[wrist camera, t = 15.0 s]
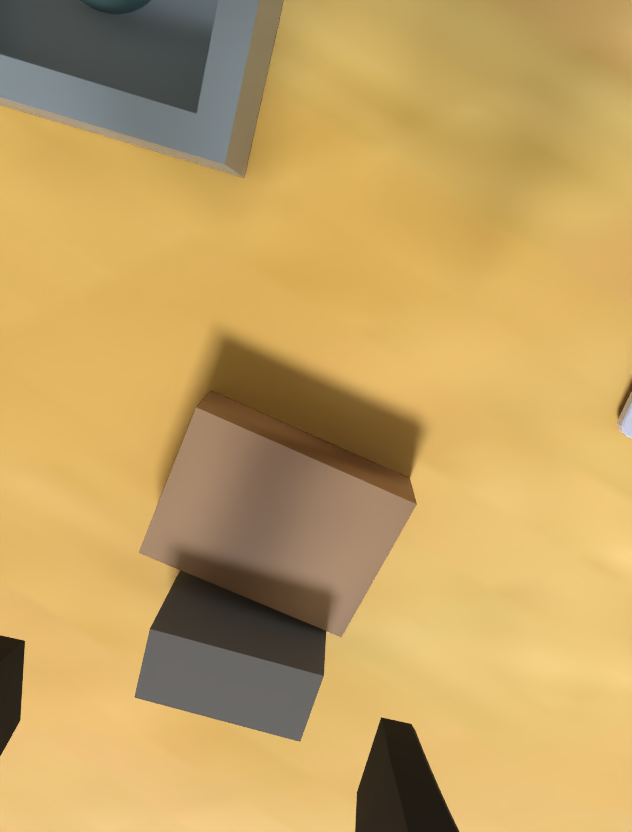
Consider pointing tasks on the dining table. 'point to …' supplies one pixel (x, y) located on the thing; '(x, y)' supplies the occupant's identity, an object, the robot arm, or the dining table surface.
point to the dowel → (116, 5)
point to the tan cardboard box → (277, 514)
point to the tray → (144, 72)
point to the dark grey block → (232, 659)
